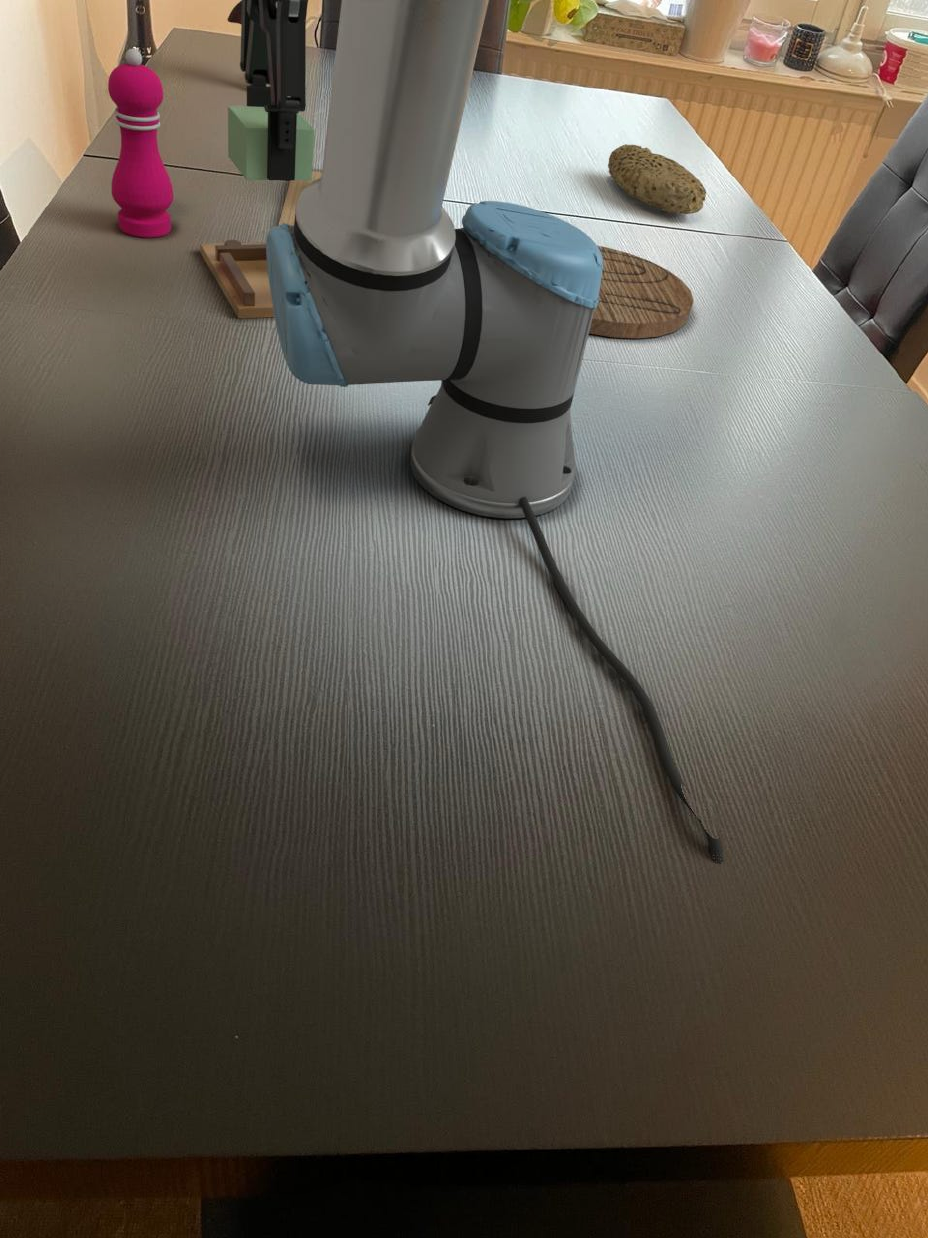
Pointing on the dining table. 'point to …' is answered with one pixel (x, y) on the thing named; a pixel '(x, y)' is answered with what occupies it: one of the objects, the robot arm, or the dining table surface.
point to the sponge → (656, 180)
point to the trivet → (638, 298)
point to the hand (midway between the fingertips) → (270, 165)
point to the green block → (264, 143)
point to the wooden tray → (241, 276)
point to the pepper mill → (139, 151)
